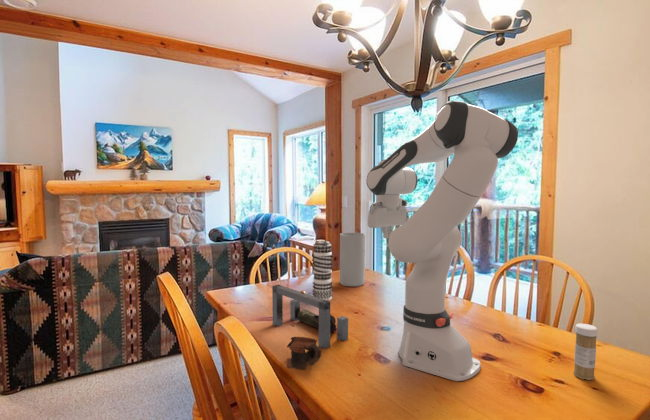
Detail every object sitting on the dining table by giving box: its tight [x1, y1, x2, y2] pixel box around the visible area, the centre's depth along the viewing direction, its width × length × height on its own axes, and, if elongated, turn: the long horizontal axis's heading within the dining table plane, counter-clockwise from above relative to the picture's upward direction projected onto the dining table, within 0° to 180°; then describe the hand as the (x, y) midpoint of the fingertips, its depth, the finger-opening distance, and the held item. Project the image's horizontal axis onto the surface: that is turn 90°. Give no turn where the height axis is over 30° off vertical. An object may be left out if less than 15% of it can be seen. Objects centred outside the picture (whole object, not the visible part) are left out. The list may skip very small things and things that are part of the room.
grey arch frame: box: [271, 284, 331, 350], centre depth 122 cm, size 26×3×14 cm, turn 44°
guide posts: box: [289, 299, 349, 342], centre depth 127 cm, size 26×2×7 cm, turn 44°
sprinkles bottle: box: [573, 323, 598, 381], centre depth 96 cm, size 5×5×14 cm
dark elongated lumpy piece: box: [297, 308, 337, 335], centre depth 129 cm, size 18×7×6 cm, turn 38°
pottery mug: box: [286, 336, 322, 371], centre depth 103 cm, size 12×10×8 cm
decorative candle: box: [311, 240, 334, 301], centre depth 161 cm, size 9×9×25 cm
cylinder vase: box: [339, 232, 366, 288], centre depth 185 cm, size 12×12×25 cm
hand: (387, 237), depth 142 cm, fingers closed
